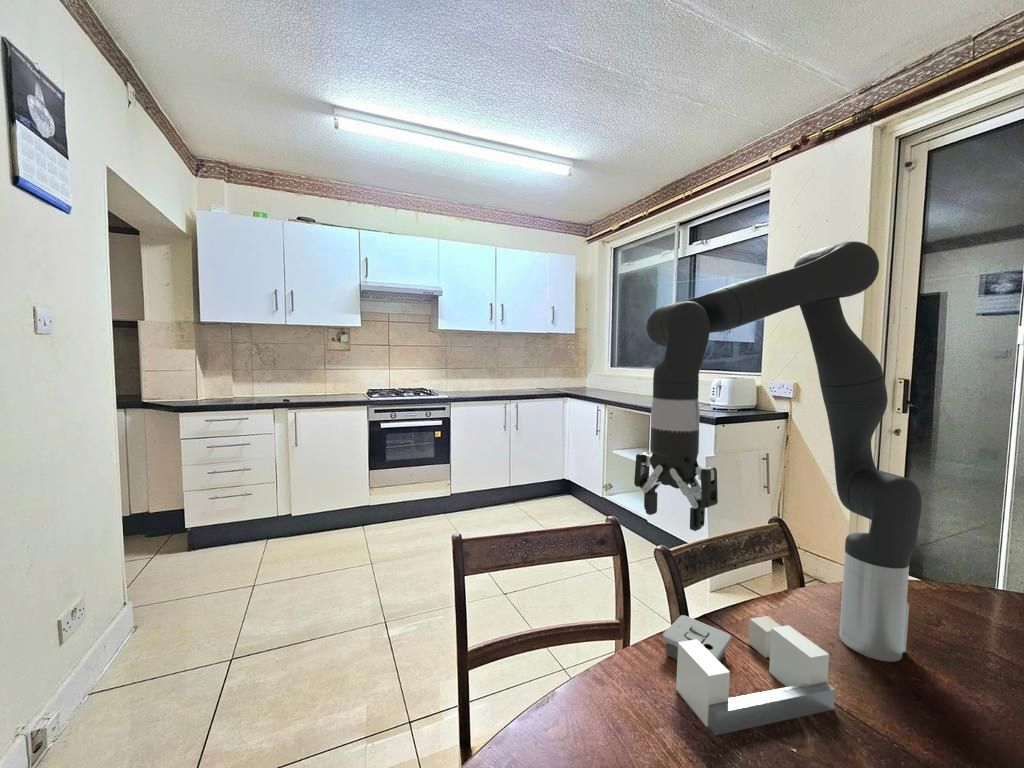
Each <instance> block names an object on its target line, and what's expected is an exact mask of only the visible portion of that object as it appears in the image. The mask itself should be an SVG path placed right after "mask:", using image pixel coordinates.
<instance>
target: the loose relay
mask: <svg viewBox="0 0 1024 768" xmlns="http://www.w3.org/2000/svg"><path fill="white" fill-rule="evenodd" d="M748 626H749V627H748V645H750V646H751V647H752V648H753V649H755V650H756V651H757V652H758V653H759V654H760V655H761V656H762V657H764V658H770V647H771V629H772V628H774V627H780V626H782V625H781V624H779V623H778V622H777V621H775V620H774V619H772V618H771V617H770V616H768V615H765V616H757V617H751V618H749V625H748Z"/></svg>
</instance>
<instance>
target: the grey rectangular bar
mask: <svg viewBox="0 0 1024 768" xmlns="http://www.w3.org/2000/svg"><path fill="white" fill-rule="evenodd" d="M835 697H836V689H835V688H834V687H833V686H832V685H830V684H829V683H828V681H827V682H824V683H819V684H814V685H808V684H807V683H805V684H800V685H795V686H790V687H786V686H785V687H780V688H775V689H771V690H766V691H761V692H753V693H749V694H745V695H744V694H743V695H740V696H735V697H729V701H727V702H722V703H717V704H712V705H709V722H708V727H707V728H708V729H709V730H710V731H711V732H712V733H713V735H715V736H720V735H723V734H729V733H733V732H734V733H735V732H738V731H742V730H746V729H753V728H756V727H760V726H766V725H769V724H774V723H778V722H779V723H780V722H783V721H787V720H793V719H798V718H802V717H805V716H810V715H814V714H820V713H824V712H829V711H834V709H835Z"/></svg>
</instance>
